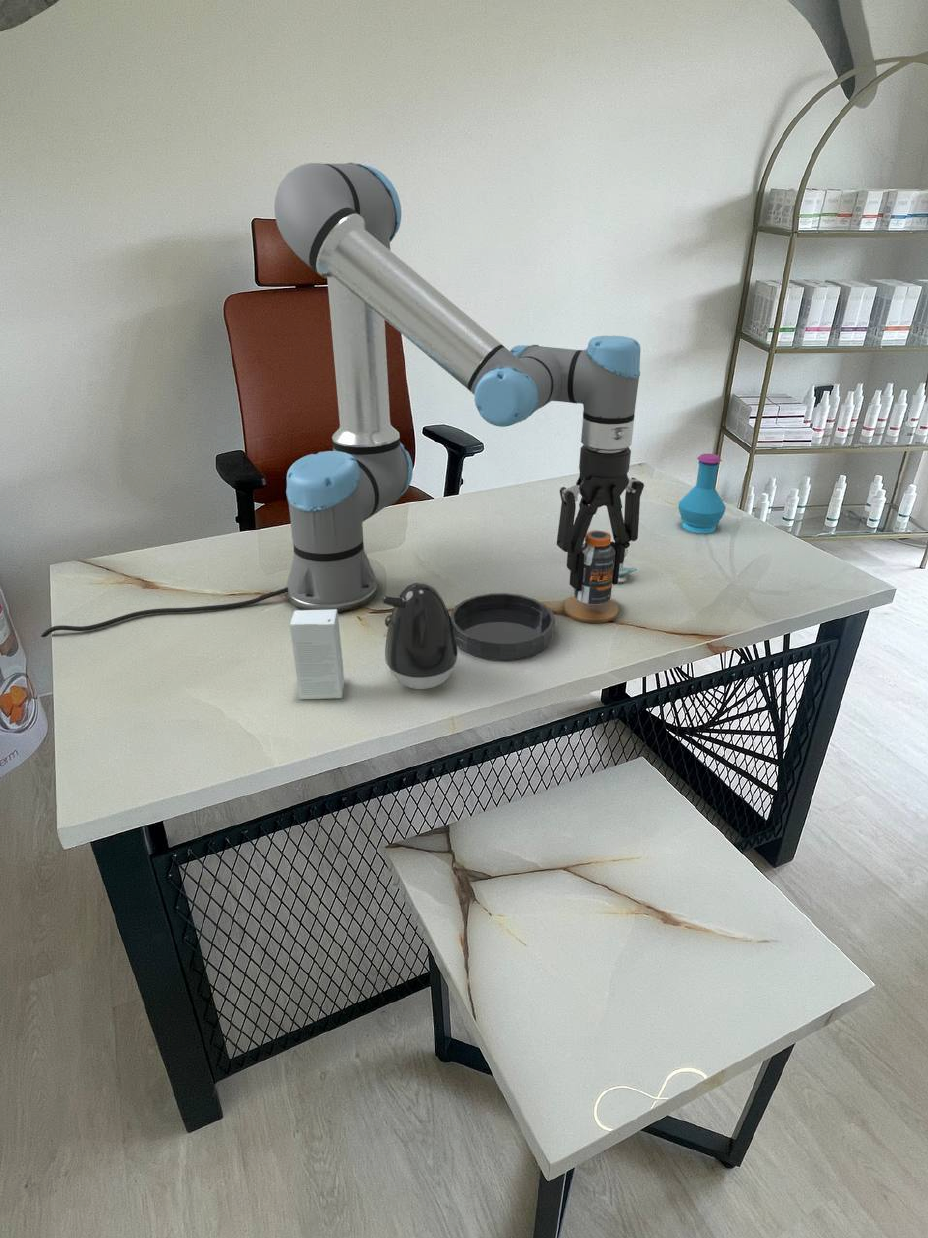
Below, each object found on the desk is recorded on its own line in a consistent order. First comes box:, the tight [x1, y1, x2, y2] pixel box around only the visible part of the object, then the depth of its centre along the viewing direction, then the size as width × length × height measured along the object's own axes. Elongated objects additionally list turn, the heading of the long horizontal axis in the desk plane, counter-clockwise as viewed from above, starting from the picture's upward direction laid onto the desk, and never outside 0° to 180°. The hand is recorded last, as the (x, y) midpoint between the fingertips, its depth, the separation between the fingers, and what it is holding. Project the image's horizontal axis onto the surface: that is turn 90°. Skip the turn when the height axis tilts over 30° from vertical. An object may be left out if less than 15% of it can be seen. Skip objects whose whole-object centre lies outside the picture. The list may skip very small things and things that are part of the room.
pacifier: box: [618, 547, 638, 583], centre depth 143 cm, size 7×6×6 cm
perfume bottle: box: [678, 453, 726, 534], centre depth 161 cm, size 9×9×15 cm
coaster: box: [563, 595, 620, 624], centre depth 134 cm, size 9×9×1 cm
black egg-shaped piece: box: [381, 582, 458, 690], centre depth 112 cm, size 10×10×15 cm
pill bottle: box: [574, 529, 615, 605], centre depth 130 cm, size 6×6×11 cm
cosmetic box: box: [289, 609, 345, 700], centre depth 110 cm, size 6×4×12 cm
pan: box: [449, 592, 556, 662], centre depth 126 cm, size 16×16×3 cm
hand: (593, 584), depth 131 cm, fingers closed on pill bottle, 6 cm apart
